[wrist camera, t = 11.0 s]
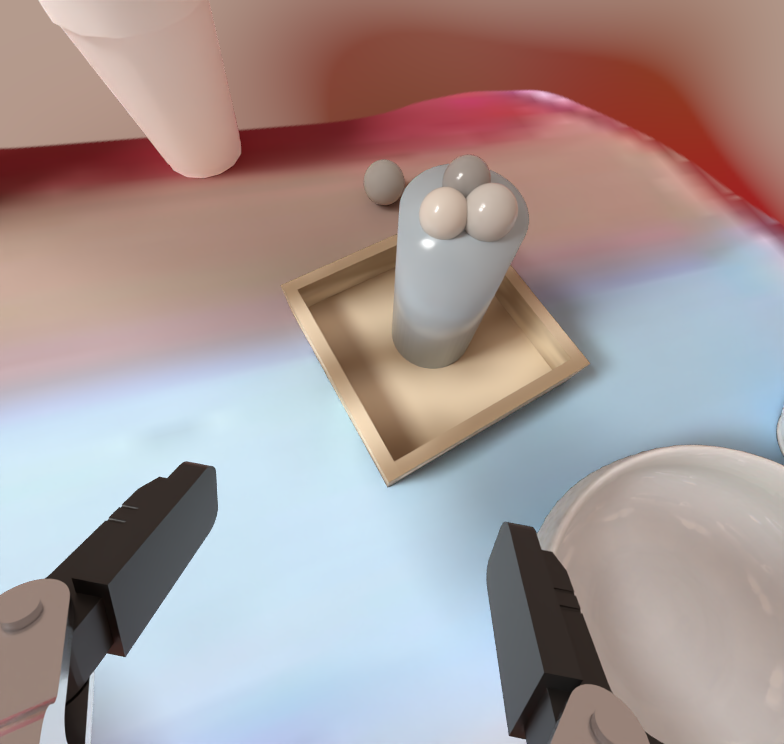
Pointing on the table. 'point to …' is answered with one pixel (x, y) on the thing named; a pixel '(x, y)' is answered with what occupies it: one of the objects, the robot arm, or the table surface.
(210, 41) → the foam cup
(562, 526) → the cereal bowl
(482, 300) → the pebble jar
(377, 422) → the birch tray
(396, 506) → the table surface
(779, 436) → the lidded jar
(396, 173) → the pebble
